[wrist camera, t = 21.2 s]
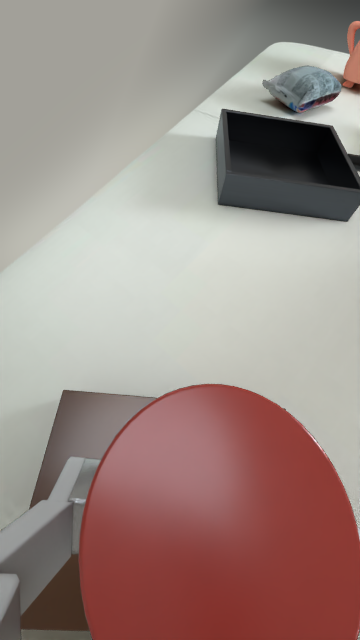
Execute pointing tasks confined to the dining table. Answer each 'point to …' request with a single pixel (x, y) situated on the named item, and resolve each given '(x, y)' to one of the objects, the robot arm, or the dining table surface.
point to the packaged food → (304, 88)
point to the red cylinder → (218, 527)
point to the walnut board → (65, 441)
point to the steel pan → (285, 167)
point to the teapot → (352, 58)
